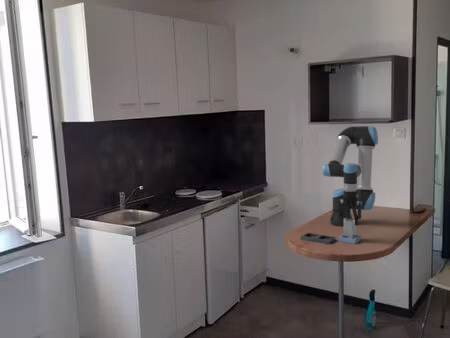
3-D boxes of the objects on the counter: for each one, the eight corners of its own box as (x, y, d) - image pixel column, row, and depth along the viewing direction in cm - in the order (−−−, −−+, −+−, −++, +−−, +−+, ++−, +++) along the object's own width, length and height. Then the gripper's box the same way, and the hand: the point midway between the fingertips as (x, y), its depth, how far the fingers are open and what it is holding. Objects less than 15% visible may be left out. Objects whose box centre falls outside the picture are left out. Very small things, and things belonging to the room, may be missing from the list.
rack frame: (307, 235, 275) (307, 232, 275) (335, 240, 264) (335, 237, 264) (300, 239, 268) (300, 236, 268) (329, 244, 257) (329, 240, 257)
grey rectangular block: (347, 233, 266) (347, 218, 265) (355, 234, 263) (355, 219, 262) (343, 235, 262) (344, 220, 261) (352, 237, 259) (352, 221, 258)
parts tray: (344, 237, 270) (344, 232, 270) (361, 239, 264) (361, 235, 264) (338, 241, 262) (338, 237, 262) (354, 244, 257) (355, 239, 256)
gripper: (332, 190, 262) (332, 229, 265) (363, 192, 251) (362, 233, 254) (337, 188, 268) (337, 226, 271) (368, 190, 257) (367, 230, 260)
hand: (349, 229), depth 263 cm, fingers closed on grey rectangular block, 5 cm apart
